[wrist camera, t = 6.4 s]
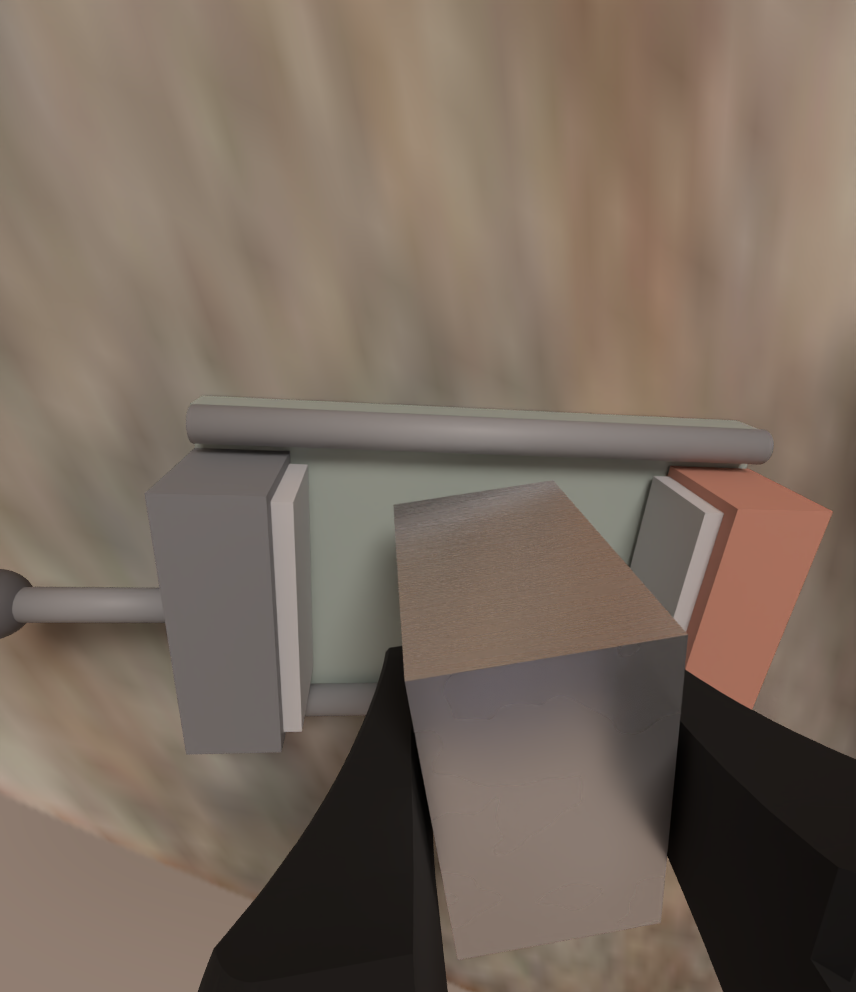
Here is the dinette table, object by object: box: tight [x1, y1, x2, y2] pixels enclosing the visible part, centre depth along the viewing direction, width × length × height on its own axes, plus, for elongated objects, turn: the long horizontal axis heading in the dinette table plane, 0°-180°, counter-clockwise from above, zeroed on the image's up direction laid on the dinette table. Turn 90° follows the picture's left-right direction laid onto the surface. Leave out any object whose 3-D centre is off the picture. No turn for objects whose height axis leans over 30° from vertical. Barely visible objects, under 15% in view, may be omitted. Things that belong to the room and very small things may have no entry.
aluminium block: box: [393, 480, 688, 960], centre depth 11 cm, size 4×7×6 cm, turn 8°
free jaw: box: [630, 466, 833, 710], centre depth 15 cm, size 3×8×3 cm, turn 176°
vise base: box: [0, 396, 774, 754], centre depth 15 cm, size 22×10×4 cm, turn 86°
